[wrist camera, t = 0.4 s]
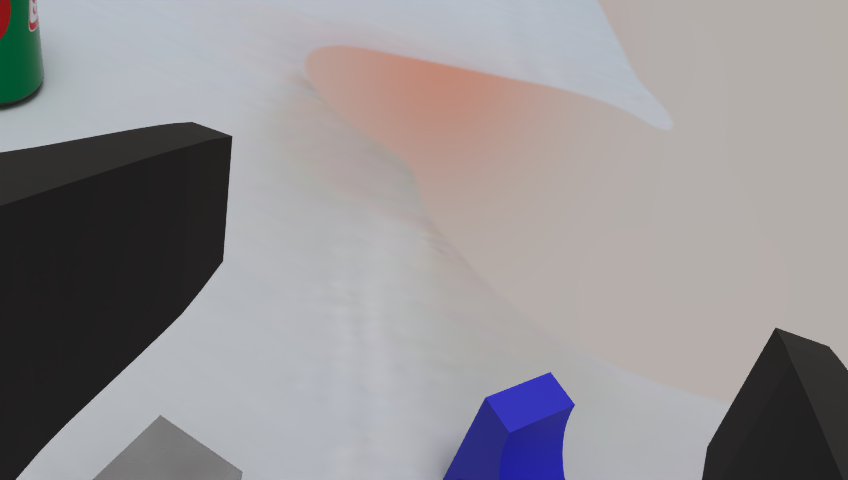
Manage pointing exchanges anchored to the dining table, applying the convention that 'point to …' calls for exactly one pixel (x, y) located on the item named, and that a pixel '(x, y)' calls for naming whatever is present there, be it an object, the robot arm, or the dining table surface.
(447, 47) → the dining table surface
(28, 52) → the soda can
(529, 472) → the blue cradle block
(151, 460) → the chain
